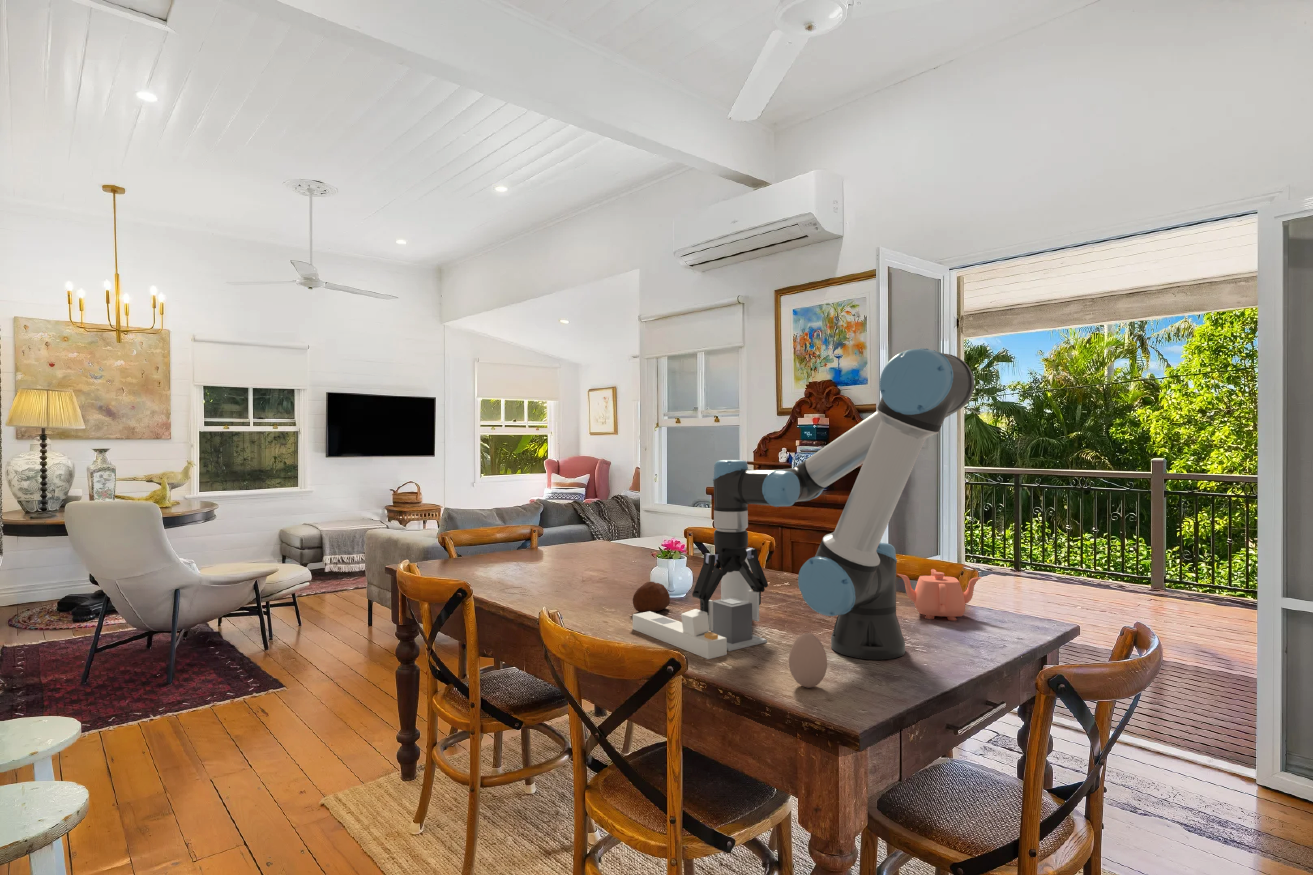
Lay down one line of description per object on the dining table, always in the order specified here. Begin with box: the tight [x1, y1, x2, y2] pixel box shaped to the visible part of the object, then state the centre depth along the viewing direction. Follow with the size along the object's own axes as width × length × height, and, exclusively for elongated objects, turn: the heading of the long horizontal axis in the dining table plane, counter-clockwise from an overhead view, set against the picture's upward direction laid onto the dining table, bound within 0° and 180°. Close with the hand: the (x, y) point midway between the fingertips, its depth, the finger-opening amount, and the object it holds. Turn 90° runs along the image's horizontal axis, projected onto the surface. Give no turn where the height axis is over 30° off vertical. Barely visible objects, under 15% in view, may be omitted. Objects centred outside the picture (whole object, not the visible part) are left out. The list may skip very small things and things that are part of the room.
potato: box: [632, 581, 671, 613], centre depth 185 cm, size 8×12×8 cm, turn 137°
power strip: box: [632, 611, 728, 660], centre depth 158 cm, size 28×5×4 cm, turn 35°
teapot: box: [897, 568, 983, 622], centre depth 178 cm, size 14×14×11 cm
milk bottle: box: [720, 557, 753, 602], centre depth 178 cm, size 8×8×20 cm
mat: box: [727, 634, 768, 652], centre depth 158 cm, size 11×11×1 cm
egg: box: [788, 632, 828, 689], centre depth 129 cm, size 7×7×10 cm
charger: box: [710, 597, 753, 644], centre depth 158 cm, size 7×6×8 cm
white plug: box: [680, 608, 710, 636], centre depth 152 cm, size 4×4×4 cm
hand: (731, 624), depth 158 cm, fingers open, 13 cm apart
